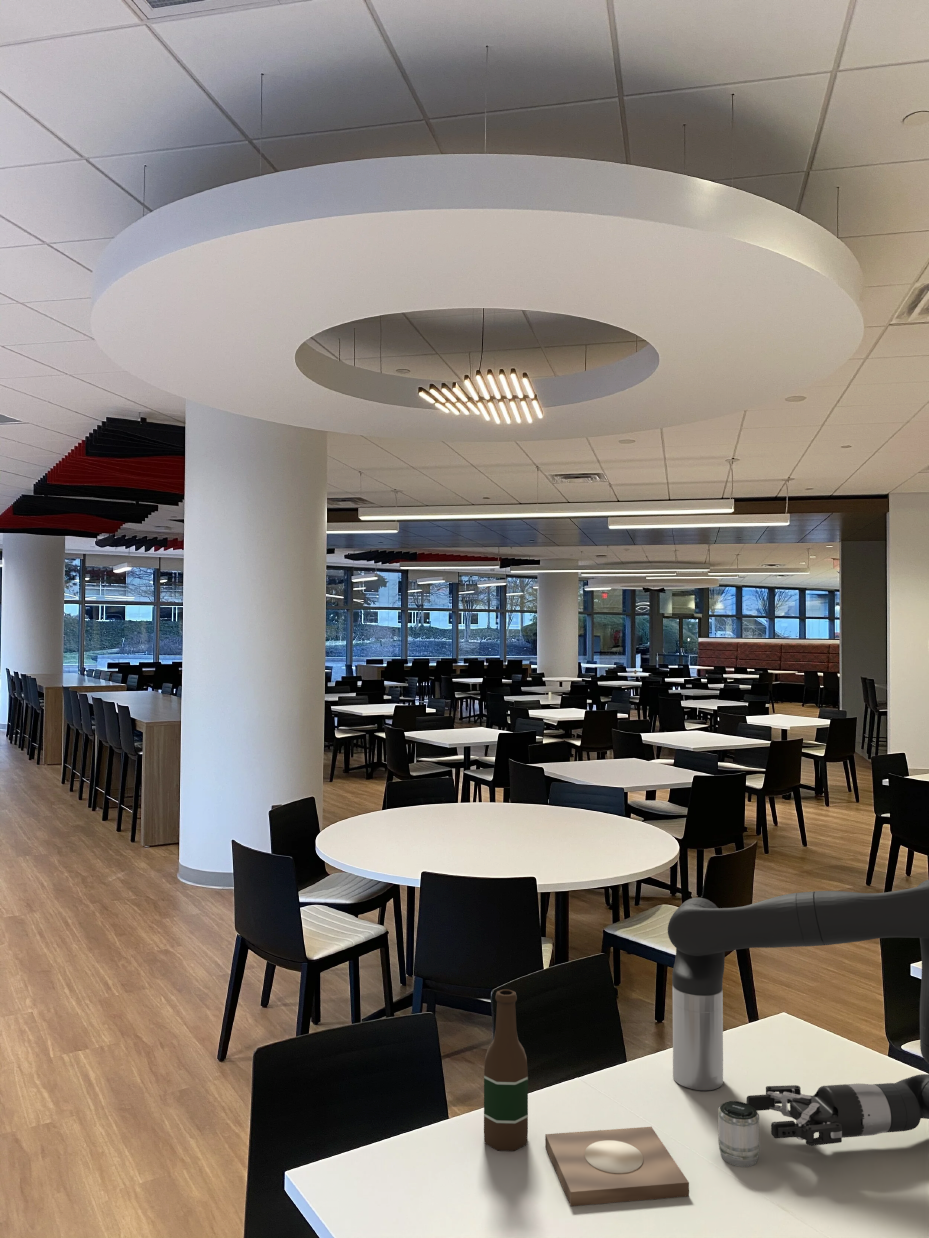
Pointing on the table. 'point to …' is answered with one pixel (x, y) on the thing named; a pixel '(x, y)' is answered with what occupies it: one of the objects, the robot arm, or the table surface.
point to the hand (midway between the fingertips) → (759, 1116)
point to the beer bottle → (505, 1081)
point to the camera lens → (738, 1133)
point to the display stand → (615, 1166)
